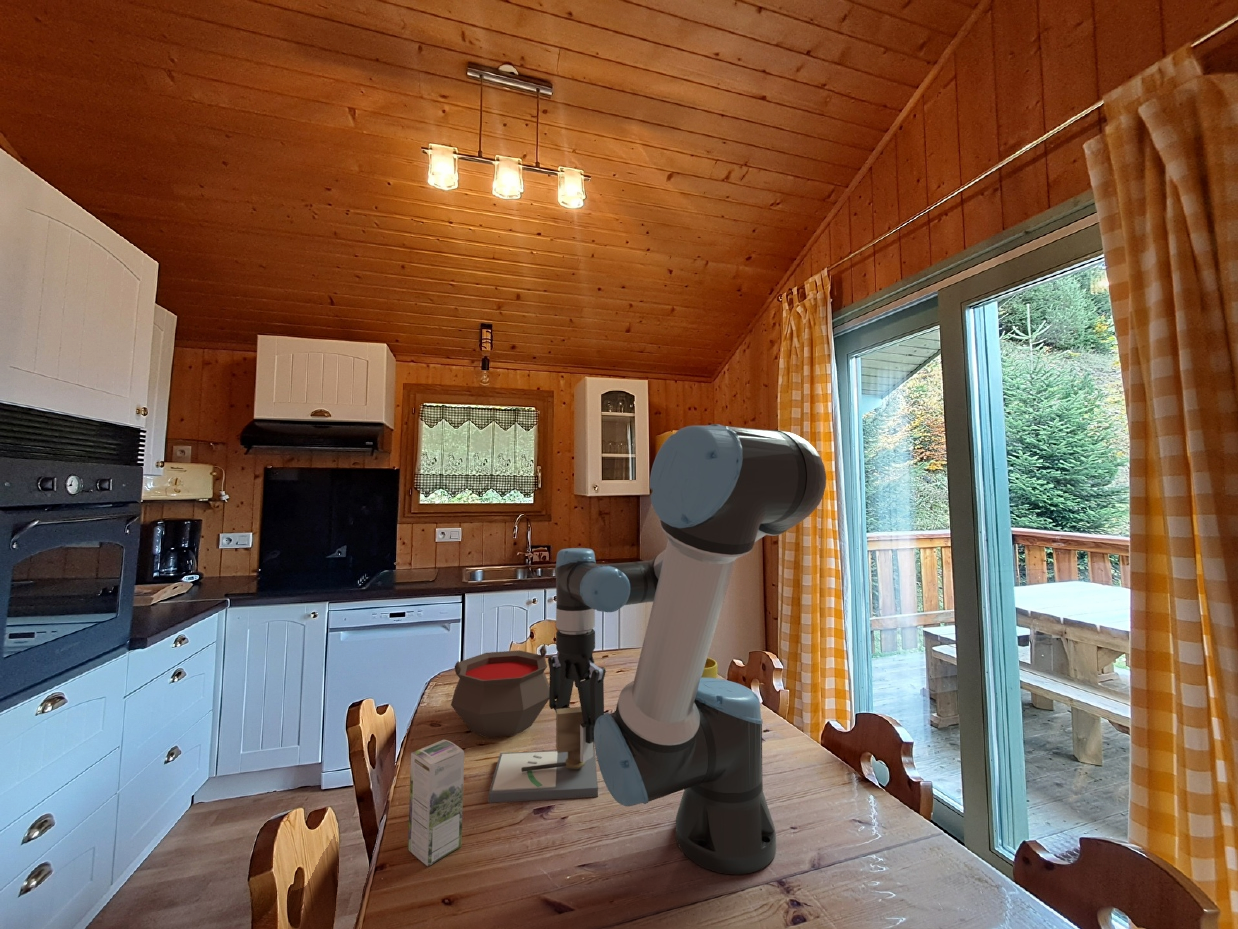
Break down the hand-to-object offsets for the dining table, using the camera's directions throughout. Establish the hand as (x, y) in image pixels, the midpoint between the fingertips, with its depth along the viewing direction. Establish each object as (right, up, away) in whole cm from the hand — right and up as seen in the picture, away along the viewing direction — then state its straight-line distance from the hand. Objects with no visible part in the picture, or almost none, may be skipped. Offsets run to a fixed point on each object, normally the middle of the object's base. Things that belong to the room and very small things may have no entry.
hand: (575, 753), depth 96 cm
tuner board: (-6, -4, -1) cm, 7 cm away
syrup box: (-19, -3, -20) cm, 28 cm away
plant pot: (+29, -7, +35) cm, 46 cm away
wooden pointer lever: (-3, -2, -1) cm, 4 cm away
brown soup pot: (-19, -6, +22) cm, 30 cm away
